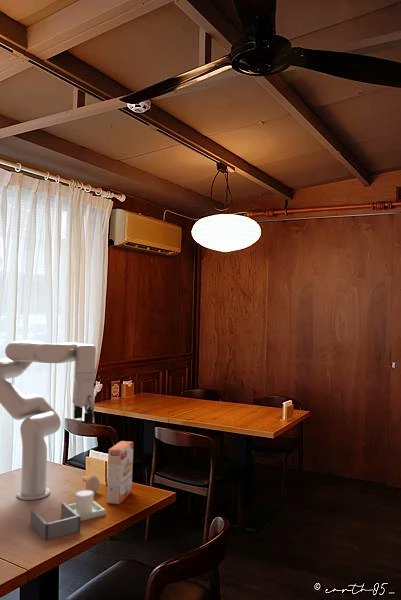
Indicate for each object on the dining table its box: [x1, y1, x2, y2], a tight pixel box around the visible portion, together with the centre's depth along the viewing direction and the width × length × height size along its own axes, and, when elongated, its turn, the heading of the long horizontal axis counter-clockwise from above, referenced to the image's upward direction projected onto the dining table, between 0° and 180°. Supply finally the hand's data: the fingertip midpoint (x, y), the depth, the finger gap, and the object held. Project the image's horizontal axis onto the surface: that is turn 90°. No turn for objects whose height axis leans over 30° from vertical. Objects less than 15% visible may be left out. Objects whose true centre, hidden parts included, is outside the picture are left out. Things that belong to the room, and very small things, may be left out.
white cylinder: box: [74, 489, 95, 515], centre depth 180 cm, size 7×7×7 cm
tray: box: [67, 500, 106, 522], centre depth 180 cm, size 12×12×2 cm
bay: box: [29, 501, 82, 541], centre depth 168 cm, size 14×12×5 cm
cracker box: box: [106, 440, 134, 505], centre depth 196 cm, size 14×6×21 cm, turn 168°
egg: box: [85, 474, 100, 495], centre depth 199 cm, size 5×5×7 cm
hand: (83, 420), depth 189 cm, fingers open, 9 cm apart
